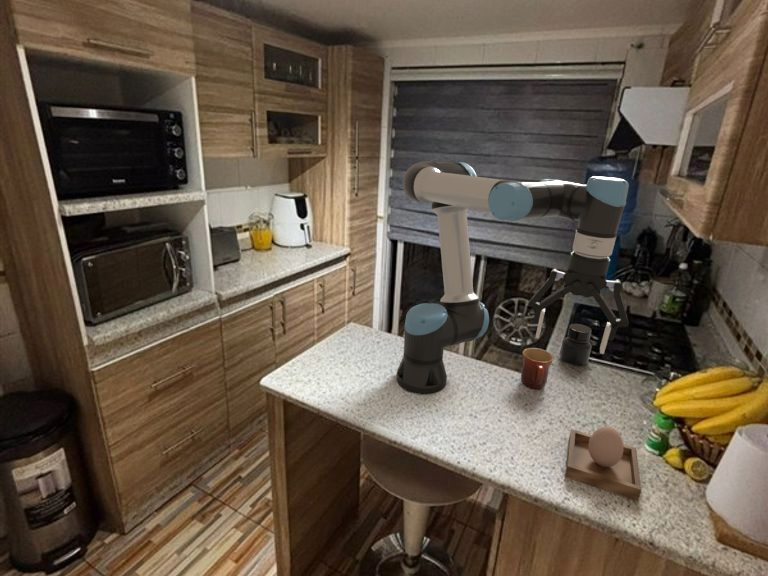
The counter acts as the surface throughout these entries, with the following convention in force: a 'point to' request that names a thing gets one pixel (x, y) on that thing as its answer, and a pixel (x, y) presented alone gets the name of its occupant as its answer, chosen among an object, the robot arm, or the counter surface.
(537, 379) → the mug
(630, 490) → the tray
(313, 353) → the counter surface
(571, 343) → the ink bottle
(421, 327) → the robot arm
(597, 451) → the egg
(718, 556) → the counter surface
